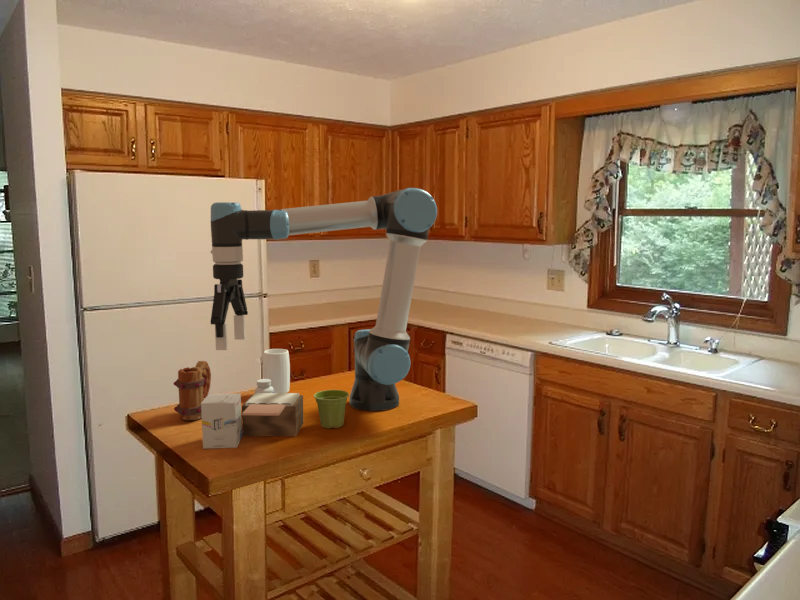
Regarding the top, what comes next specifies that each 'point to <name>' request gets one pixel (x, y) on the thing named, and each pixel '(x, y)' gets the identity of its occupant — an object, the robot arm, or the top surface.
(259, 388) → the pill bottle
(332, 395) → the plant pot
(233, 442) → the ink box
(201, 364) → the mug
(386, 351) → the robot arm
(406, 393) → the top surface
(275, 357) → the cup
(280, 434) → the block
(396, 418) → the top surface
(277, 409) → the panel
